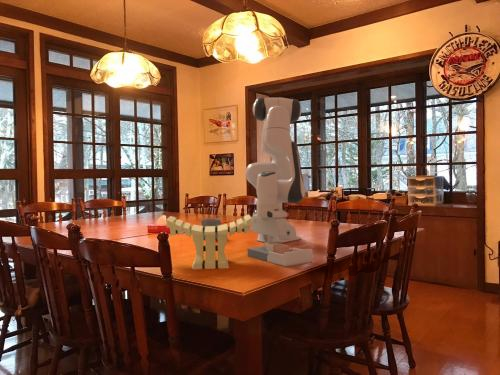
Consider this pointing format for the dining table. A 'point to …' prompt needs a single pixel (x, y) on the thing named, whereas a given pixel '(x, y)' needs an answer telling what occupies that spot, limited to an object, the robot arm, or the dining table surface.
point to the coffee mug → (211, 222)
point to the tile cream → (270, 246)
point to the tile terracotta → (280, 248)
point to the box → (290, 257)
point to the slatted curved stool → (209, 240)
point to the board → (260, 253)
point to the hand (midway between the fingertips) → (268, 245)
